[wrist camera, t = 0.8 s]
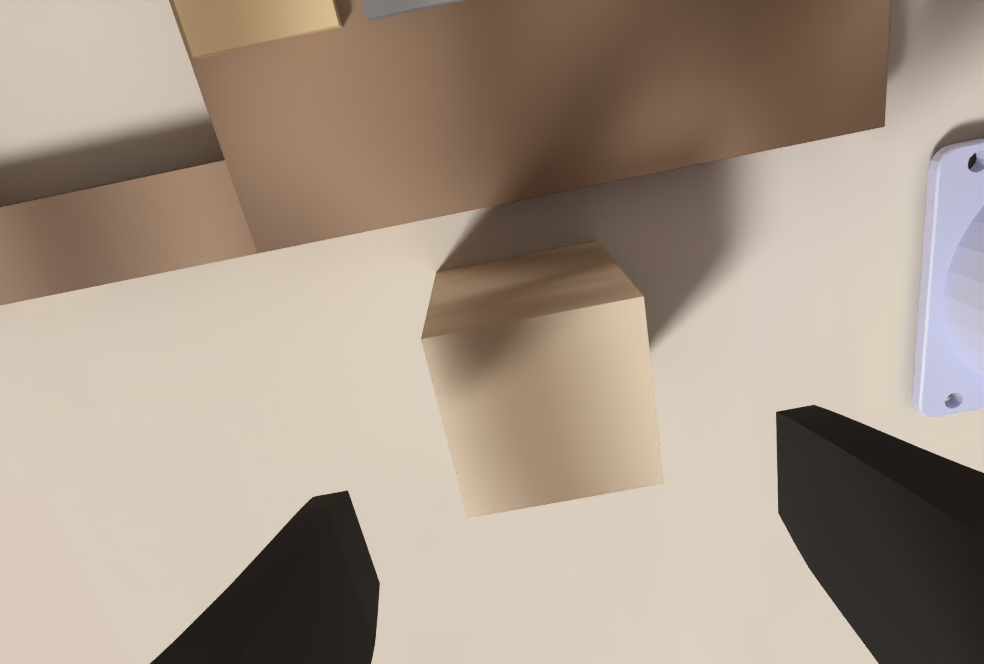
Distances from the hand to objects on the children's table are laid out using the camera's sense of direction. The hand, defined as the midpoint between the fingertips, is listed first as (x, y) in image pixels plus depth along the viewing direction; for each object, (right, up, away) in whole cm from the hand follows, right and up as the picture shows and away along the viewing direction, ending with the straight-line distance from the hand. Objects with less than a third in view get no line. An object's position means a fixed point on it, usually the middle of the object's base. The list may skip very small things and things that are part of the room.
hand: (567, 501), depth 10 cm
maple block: (0, +3, +7) cm, 8 cm away
